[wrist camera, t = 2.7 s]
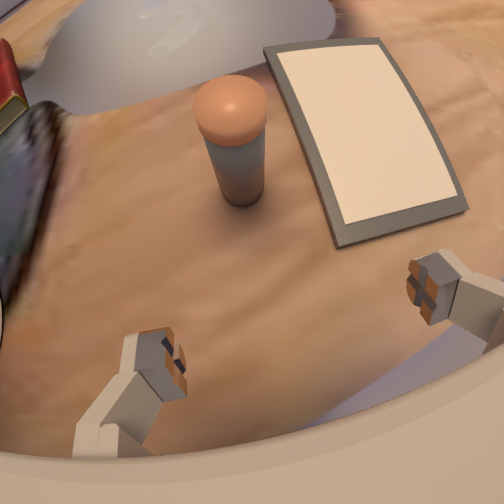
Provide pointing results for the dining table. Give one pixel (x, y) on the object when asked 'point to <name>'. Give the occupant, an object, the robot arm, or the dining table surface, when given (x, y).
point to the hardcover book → (10, 88)
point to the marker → (234, 134)
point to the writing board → (364, 138)
